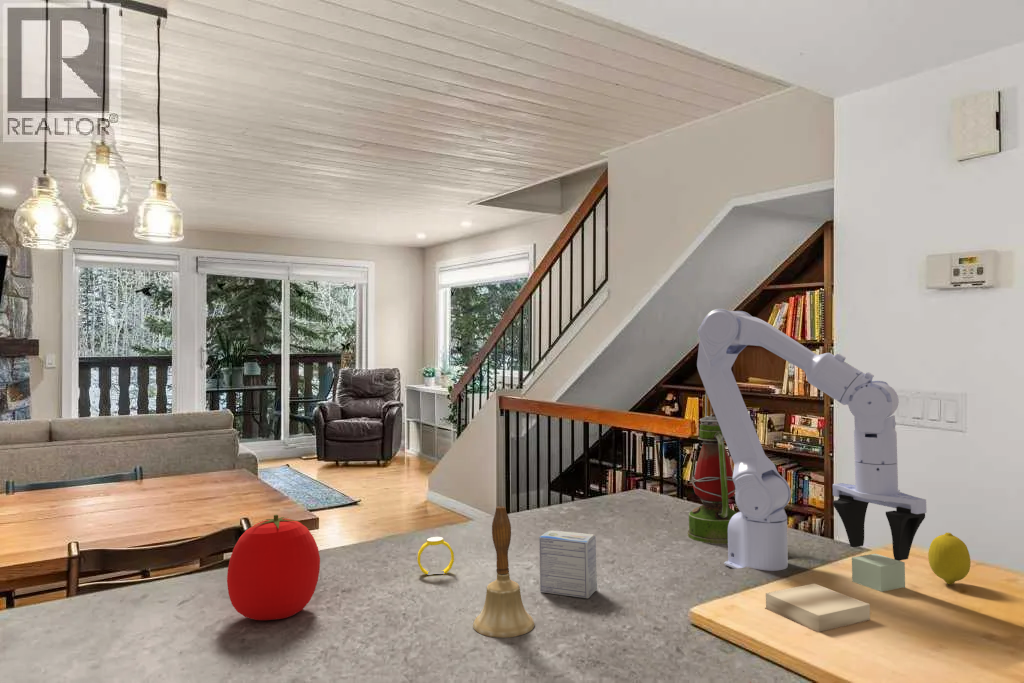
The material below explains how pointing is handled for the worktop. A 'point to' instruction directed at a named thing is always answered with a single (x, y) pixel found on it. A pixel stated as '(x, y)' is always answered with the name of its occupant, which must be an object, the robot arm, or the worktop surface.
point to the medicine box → (568, 563)
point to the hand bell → (503, 590)
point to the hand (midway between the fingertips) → (878, 552)
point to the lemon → (949, 558)
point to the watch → (435, 542)
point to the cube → (878, 572)
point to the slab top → (817, 607)
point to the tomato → (273, 569)
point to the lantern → (712, 485)
